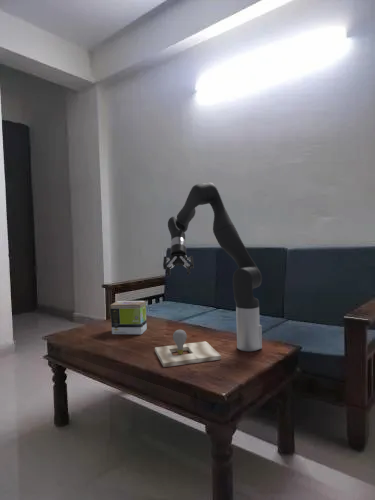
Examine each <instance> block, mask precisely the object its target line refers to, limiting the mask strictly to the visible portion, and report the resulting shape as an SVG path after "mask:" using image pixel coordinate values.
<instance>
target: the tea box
mask: <svg viewBox="0 0 375 500" xmlns="http://www.w3.org/2000/svg"><path fill="white" fill-rule="evenodd" d="M146 304H147V303H146V300H117V301H115V302H113V303H111V304H109V306H110V308H109V309H110V322H111V323H110V325H111V334H112V335H142V334H143V333H144V332H146V331H147V328H148V327H147V326H148V325H147V323H148V322H147V308H146V307H147V306H146Z"/></svg>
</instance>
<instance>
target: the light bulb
mask: <svg viewBox="0 0 375 500" xmlns="http://www.w3.org/2000/svg"><path fill="white" fill-rule="evenodd" d="M187 336H188V335H187V333H186V331H185V330H183V329H177V330H175V331H174V332H173V335H172V339H173V342H174V343H175V345H177V349H178V352H177V354H178V355H184V351H183V345H184V344H186V342H187V338H188V337H187Z"/></svg>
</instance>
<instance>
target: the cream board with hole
mask: <svg viewBox="0 0 375 500" xmlns="http://www.w3.org/2000/svg"><path fill="white" fill-rule="evenodd" d="M187 351H188V352H189V353H186V354H185V353H183V354H181V355H180V354H178V355H177V354H176V355H173V353H178V349H177V345H176V344H174V345H164V346H156V347H154V352H155V354H156V356H157V358H158V359H159V361H160V363H161V365H162V367H163V368H166V367H167V368H168V367H175V366H182V365H188V364H189V365H191V364H196V363H197V364H198V363H205V362H211V361H219V360H221V359H222V355H221V354H220V353H219V351H217V350H216V349H215V348H213V346H211V344H209V342H207V341H198V342H196V341H195V342H189V343H184V345H183V352H187Z"/></svg>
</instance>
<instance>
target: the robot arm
mask: <svg viewBox="0 0 375 500" xmlns="http://www.w3.org/2000/svg"><path fill="white" fill-rule="evenodd" d="M207 204H209V205H210V206H211V209H212V211H213V222H212V223H213V224H212V231H213V234H214V237H215V238H216V241H217V243H218V245H219V247H220V248H221V249H222V250H224V252H225V253H226V254H228V256H230V257H231V258H232V259H233V261H234V262H235V264H236V265H237V267H238V268H237V269H236V270H235V271H234V272H233V275H232V290H233V300H234V302H235V313H236V315H235V316H236V317H235V319H236V348H237V350H240V351H242V352H256V351H258V350H261V349H263V341H262V340H263V339H262V338H263V336H262V335H263V334H262V331H263V330H262V324H260V300H259V299H258V298H257V297H254V289H256V288H258V287H260V286H261V285H262V282H263V276H262V273H261V271H260V269H259V267H258V266H257V264H256V263H255V261H254V260H253V258H252V257H251V255H250V253H249V252H248V250H247V248H246V246H245V244H244V243H243V242H244V241H242V238H241V237H240V234H239V233H238V230H237V229H236V227H235V225H234V223H233V222H232V219H231V218H230V216H229V213H228V211H227V210H226V208H225V205H224V202H223V200H222V198H221V195H220V193H219V190H218V188H217V186H216V185H215V184H214V183H213V182H211V181H210V182H202V183H197V184H194V185H193V186H192V187H191V188H190V191H189V193H188V195H187V198H186V200H185V202H184V204H183V206H182V208H181V209H180V210H179V212H177V213H178V214H177V215H176V216H171V217H169V218H168V221H167V228H168V231H169V233H170V237H171V238H170V241H171V242H170V256H169V257H167V256H165V255H164V256H163V261H162V264H163V265H162V266H163V267H162V268H163V270H166V275H167V276H168V277H171V269H173V268H174V267H178V266H179V267H182V266H183V267H184V268H186V275H187V277H189V276H190V275H191V269H192V270H193V269H194V268H195V266H194V265H195V262H194V256H193V255H190V256H187V245H186V244H187V243H186V234H185V232H187V230H188V228H189V224H190V222H191V221H192V220H193V218H194V217H195V215H196V208H197V207H198V206H203V205H207ZM188 262H190V263H188ZM167 263H168V264H167Z"/></svg>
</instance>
